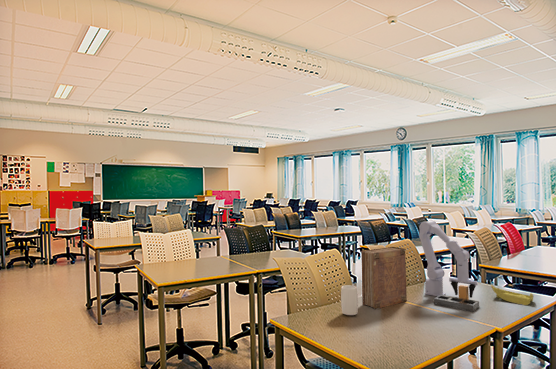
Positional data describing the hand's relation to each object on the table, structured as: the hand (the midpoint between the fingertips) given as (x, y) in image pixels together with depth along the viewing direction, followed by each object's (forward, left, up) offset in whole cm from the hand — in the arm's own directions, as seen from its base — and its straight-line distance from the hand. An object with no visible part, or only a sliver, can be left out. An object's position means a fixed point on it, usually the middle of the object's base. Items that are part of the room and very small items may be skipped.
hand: (463, 296), depth 206 cm
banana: (+20, +18, -3) cm, 27 cm away
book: (-31, -33, -3) cm, 45 cm away
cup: (-35, -62, -3) cm, 71 cm away
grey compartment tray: (0, -12, -2) cm, 12 cm away
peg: (0, 0, -2) cm, 2 cm away
